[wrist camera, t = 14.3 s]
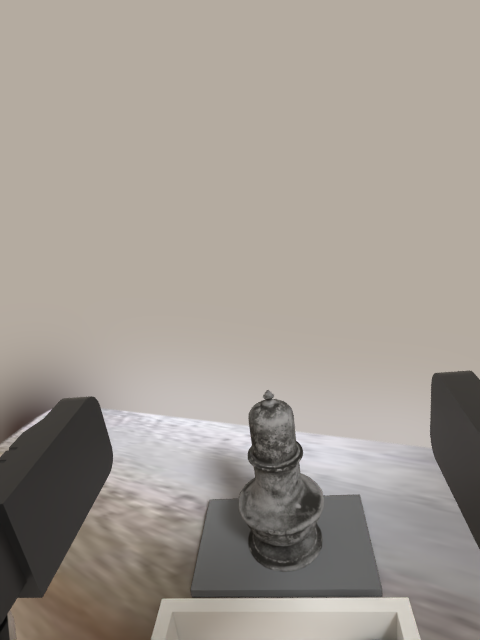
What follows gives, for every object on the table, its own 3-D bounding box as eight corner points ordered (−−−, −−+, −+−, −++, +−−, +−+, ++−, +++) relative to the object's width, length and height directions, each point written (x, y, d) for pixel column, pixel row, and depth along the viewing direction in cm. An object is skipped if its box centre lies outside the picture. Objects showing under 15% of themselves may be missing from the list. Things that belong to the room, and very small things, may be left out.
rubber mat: (359, 500, 34) (359, 494, 34) (382, 596, 26) (382, 589, 26) (211, 505, 35) (209, 499, 35) (192, 597, 28) (190, 590, 28)
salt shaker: (238, 516, 33) (216, 378, 29) (312, 501, 34) (300, 362, 30) (251, 585, 28) (226, 424, 24) (339, 564, 28) (329, 405, 24)
